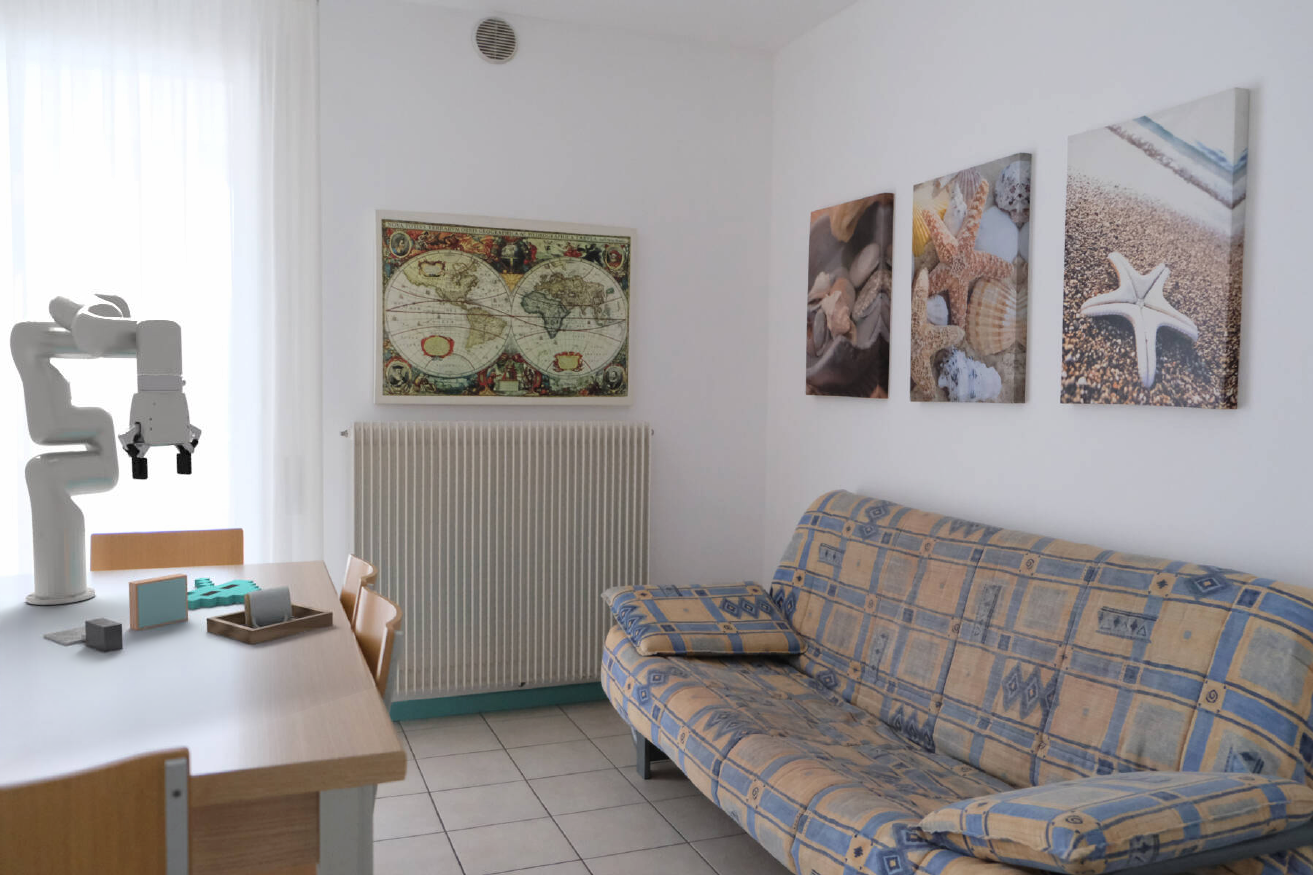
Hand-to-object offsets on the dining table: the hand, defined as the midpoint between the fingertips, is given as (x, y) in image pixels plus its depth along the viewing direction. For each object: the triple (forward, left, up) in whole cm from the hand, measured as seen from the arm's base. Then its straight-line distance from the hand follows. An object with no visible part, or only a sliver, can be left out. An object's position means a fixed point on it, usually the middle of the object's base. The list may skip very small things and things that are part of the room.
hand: (162, 476), depth 179 cm
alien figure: (-19, +20, -30) cm, 41 cm away
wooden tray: (+14, +13, -29) cm, 35 cm away
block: (-6, +2, -29) cm, 30 cm away
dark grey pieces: (-4, -12, -29) cm, 32 cm away
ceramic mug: (+14, +13, -30) cm, 35 cm away
